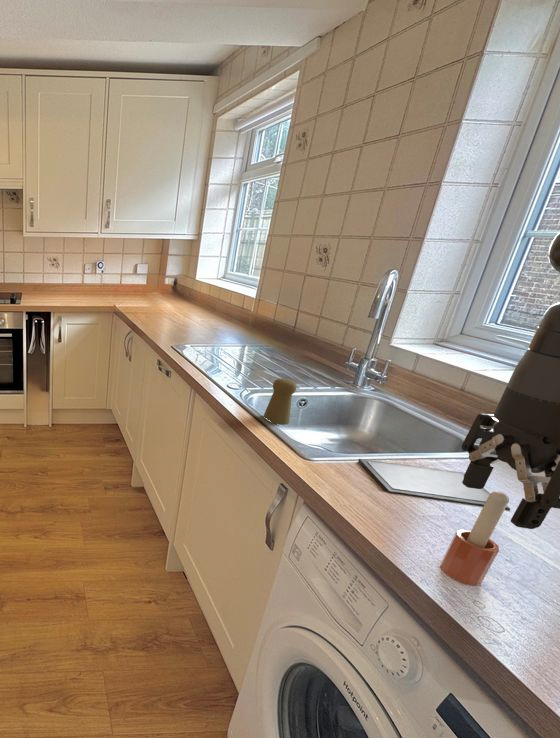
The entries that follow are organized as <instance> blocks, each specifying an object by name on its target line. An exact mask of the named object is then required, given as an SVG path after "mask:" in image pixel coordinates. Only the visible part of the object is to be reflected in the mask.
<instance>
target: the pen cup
mask: <svg viewBox="0 0 560 738" xmlns="http://www.w3.org/2000/svg"><path fill="white" fill-rule="evenodd" d="M470 532H471V530H467V529H458V530H456V531H455V533H454V535H453V538H452V539H451V541H450V543H449V545H448V547H447V550H446V551H445V554H444V555H443V558H442V560H441V562H440V569H441V571H443V573H444V574H445V575H447V576H448V577H450V578H451V579H453V580H455V581H457V582H458V583H460V584H461V583H462V584H464V585H466V586H467V585H468V586H472V587H473V586H474V587H477V586H479V585H481V584H482V583H483V581H484V579H485V577H486V575H487V574H488V572H489V570H490V568H491V566H492V564H493V563H494V561H495V559H496V557H497V555H498V553H499V552H500V547H499V545H498V544H497V543H496V542H494V540H492V539H491V538H489V540H488V542H487V544H486V546H485V548H481V547H479V546H476V545H473V544H471V543H470V542H468V541H466V540H467V538H468V536H469V534H470Z"/></svg>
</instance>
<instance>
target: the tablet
mask: <svg viewBox="0 0 560 738" xmlns="http://www.w3.org/2000/svg"><path fill="white" fill-rule="evenodd" d="M357 462H358V464H359V465H360V466H361V467H362V468H363V469H364V470H365V471H366V473H368V474H369V476H370V477H371V478H372V479H374V481H375V483H376V484H378V485H379V487H380V488H381V489H382V490H383V491H384V492H385V493H386V494H387V493H388V494H395V495H402V496H410V497H414V498H415V497H416V498H423V499H428V500H429V499H430V500H436V501H444V502H449V503H450V502H451V503H458V504H463V505H471V506H479V507H484V505H485V503H486V501H487V499H488V497H489V495H490V494H491V493H492V492H490V491H488V490H487V489H485V487H484V488H482V489H475V488H468V487H466V486H465V485H464V484H463V483H462V481H463V479H464V474H465V472H463V471H456V470H448V469H440V468H434V467H433V468H432V467H426V466H425V467H424V466H417V465H412V464H411V465H409V464H402V463H395V462H387V461H379V460H373V459H365V458H359V459H358V461H357ZM506 510H507V511H510V510H511V508H510V507H509V506H508V505H507V506H506V508H505V510H504V511H506Z"/></svg>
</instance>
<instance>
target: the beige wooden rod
mask: <svg viewBox="0 0 560 738" xmlns="http://www.w3.org/2000/svg"><path fill="white" fill-rule="evenodd" d="M490 493H491V494H490V495H489V497H488V499H487V501H486V503H485V505H484V506H482V508H481V511H480V513H479V515H478V516H477V519H476V521H475V523H474V524H473V527H472V528H471V530H470V531H471V532H470V534H469V536H468V538H467V540H466V541H468V542H470V543H471V544H473V545H476V546H479V547H481V548H485V546H486V544H487V542H488V540H489V539H491V536H492V534H493V533H494V530H495V529H496V527H497V525H498V523H499V521H500V519H501V517H502V515H503V513H504V511H506V510H505V508H506V506H508V504H509V502H510V497H509V496H508V495H507V494H506V493H505V492H502V491H492V492H490Z"/></svg>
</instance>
